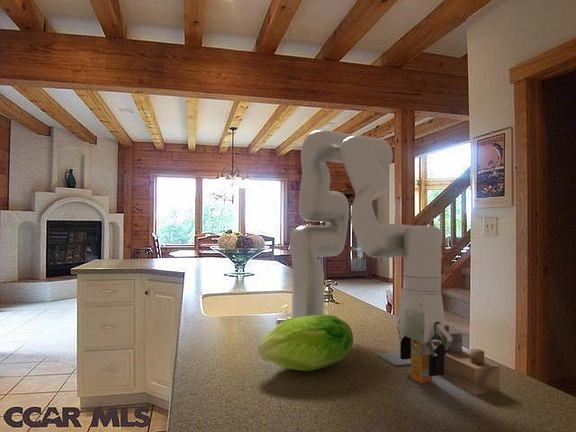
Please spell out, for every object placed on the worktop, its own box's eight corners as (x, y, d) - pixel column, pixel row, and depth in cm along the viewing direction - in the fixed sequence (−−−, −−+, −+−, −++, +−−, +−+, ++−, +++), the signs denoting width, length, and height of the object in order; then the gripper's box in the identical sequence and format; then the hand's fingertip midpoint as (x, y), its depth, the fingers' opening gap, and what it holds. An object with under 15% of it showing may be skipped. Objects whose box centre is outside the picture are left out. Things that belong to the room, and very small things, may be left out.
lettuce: (248, 366, 89) (249, 314, 89) (335, 353, 98) (335, 306, 98) (270, 389, 77) (271, 329, 77) (366, 372, 87) (367, 318, 87)
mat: (395, 366, 90) (395, 365, 90) (377, 355, 97) (377, 353, 97) (425, 363, 92) (425, 361, 92) (405, 352, 100) (405, 351, 100)
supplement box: (408, 378, 83) (409, 330, 83) (421, 376, 85) (421, 329, 85) (420, 384, 80) (421, 335, 80) (433, 381, 82) (433, 333, 82)
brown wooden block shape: (474, 395, 76) (475, 342, 76) (422, 365, 91) (422, 322, 91) (499, 391, 77) (499, 340, 78) (443, 363, 93) (444, 320, 93)
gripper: (384, 279, 90) (383, 354, 90) (433, 292, 73) (432, 384, 73) (412, 278, 92) (411, 351, 92) (466, 290, 76) (466, 380, 75)
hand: (421, 366), depth 83 cm, fingers open, 9 cm apart
